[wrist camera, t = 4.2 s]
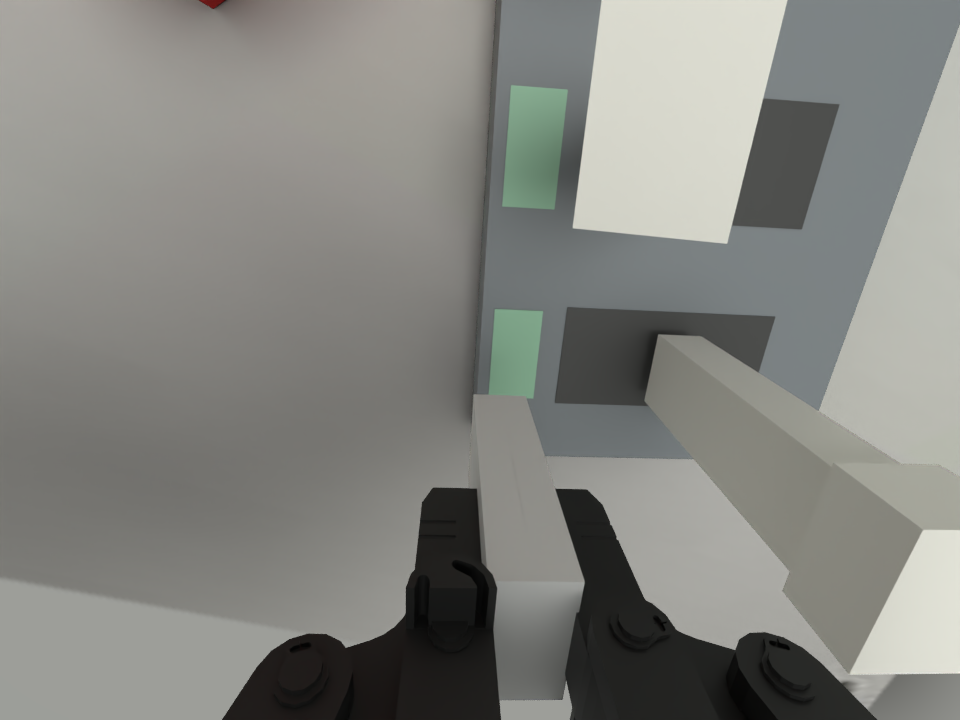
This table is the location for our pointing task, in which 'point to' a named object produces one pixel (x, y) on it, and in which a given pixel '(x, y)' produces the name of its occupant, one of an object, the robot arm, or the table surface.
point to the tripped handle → (824, 510)
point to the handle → (673, 114)
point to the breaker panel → (687, 263)
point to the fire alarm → (212, 2)
